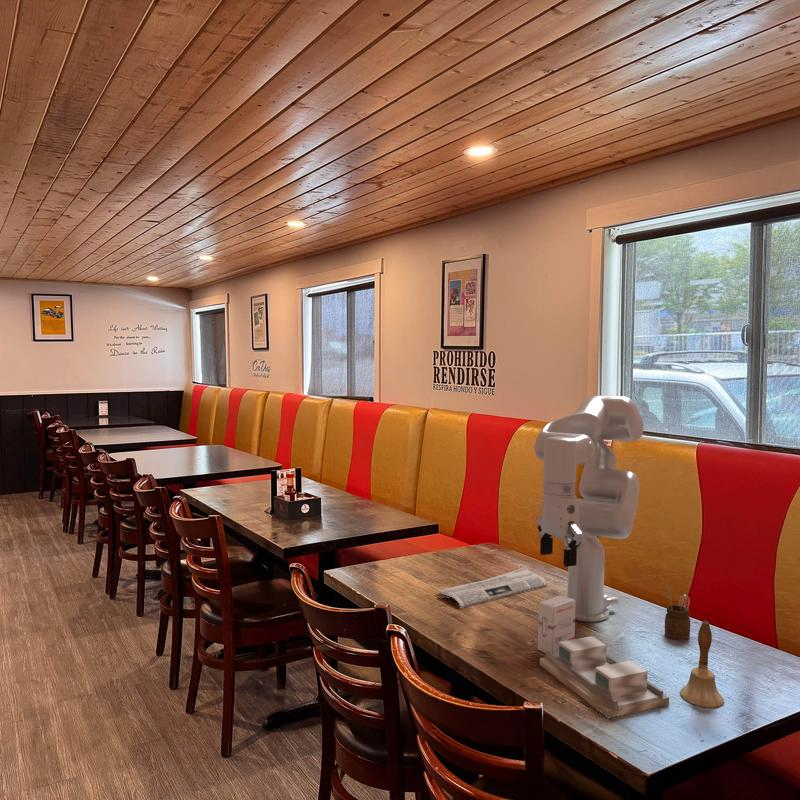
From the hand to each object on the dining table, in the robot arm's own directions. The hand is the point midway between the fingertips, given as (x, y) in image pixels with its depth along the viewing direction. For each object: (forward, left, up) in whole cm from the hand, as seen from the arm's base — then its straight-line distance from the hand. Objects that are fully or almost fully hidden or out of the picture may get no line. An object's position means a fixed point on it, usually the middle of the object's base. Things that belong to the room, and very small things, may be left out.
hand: (557, 559), depth 157 cm
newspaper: (-5, -41, -23) cm, 47 cm away
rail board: (+1, +18, -22) cm, 28 cm away
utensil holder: (-33, +4, -22) cm, 40 cm away
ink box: (0, 0, -22) cm, 22 cm away
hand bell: (-15, +30, -22) cm, 40 cm away
